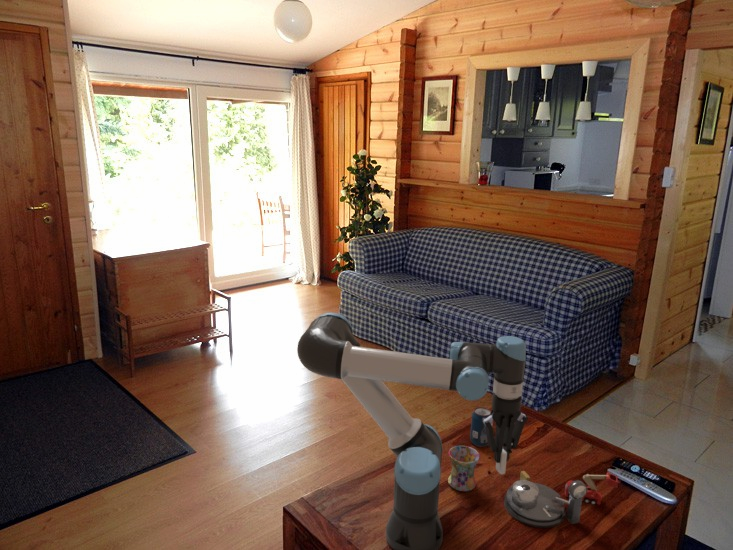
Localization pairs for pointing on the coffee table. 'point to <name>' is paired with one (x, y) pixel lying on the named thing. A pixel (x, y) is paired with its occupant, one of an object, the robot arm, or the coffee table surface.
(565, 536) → the coffee table surface
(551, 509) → the turntable
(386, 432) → the robot arm
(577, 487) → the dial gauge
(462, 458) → the mug
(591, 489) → the toy fire truck
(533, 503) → the cover
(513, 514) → the base
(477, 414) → the soda can
